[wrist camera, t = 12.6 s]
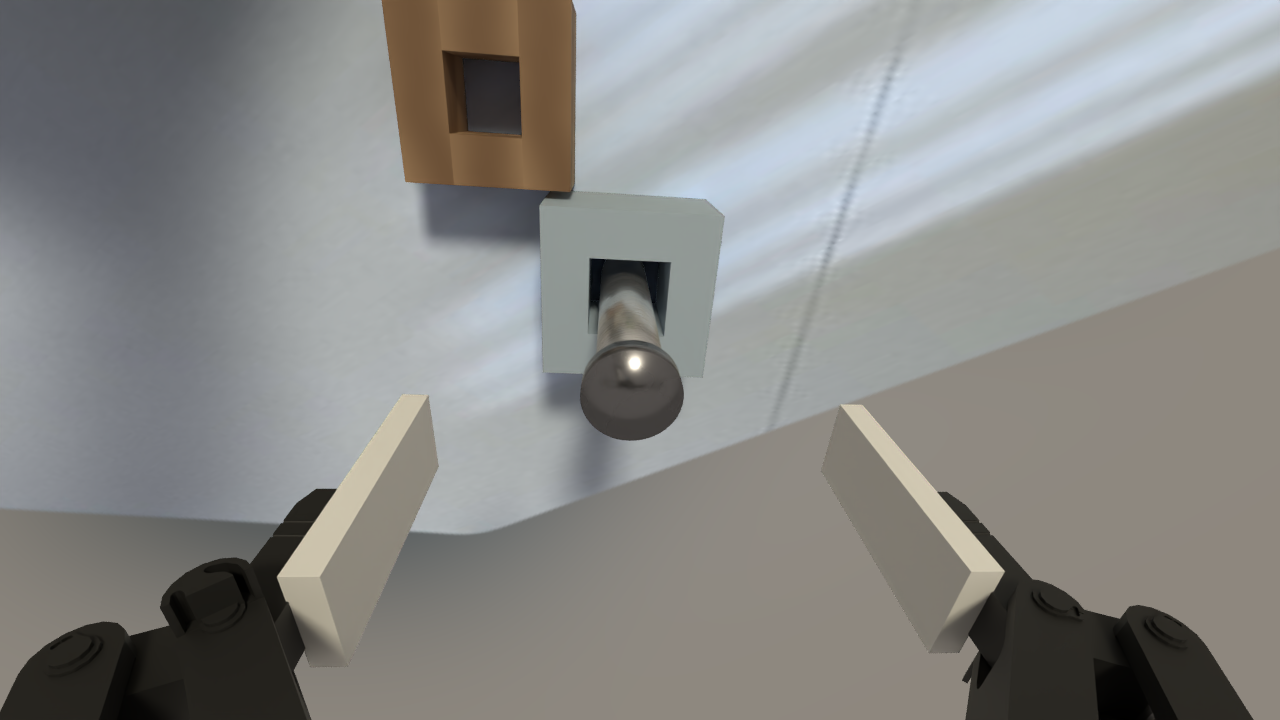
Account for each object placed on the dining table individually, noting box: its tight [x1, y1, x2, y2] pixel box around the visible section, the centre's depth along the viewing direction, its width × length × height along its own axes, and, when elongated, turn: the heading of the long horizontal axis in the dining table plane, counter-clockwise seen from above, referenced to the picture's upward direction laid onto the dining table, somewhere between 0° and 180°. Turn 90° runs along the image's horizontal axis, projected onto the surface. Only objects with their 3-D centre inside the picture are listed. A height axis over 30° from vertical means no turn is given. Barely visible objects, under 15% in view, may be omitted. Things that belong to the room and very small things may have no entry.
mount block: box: [382, 0, 576, 192], centre depth 28 cm, size 9×9×4 cm
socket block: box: [539, 191, 725, 378], centre depth 32 cm, size 10×10×6 cm
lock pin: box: [580, 259, 684, 441], centre depth 27 cm, size 4×4×17 cm
